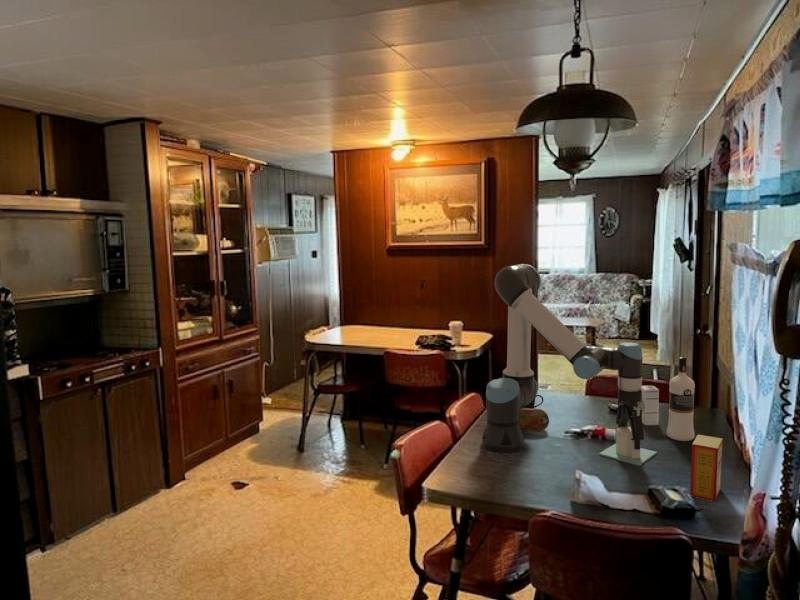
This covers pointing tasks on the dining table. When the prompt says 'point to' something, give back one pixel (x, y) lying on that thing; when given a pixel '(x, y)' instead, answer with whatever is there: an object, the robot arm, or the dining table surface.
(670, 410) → the vodka
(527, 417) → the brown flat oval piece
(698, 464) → the baking soda box
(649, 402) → the syrup box
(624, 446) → the cap
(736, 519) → the dining table surface
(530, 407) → the coffee mug
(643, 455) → the base
